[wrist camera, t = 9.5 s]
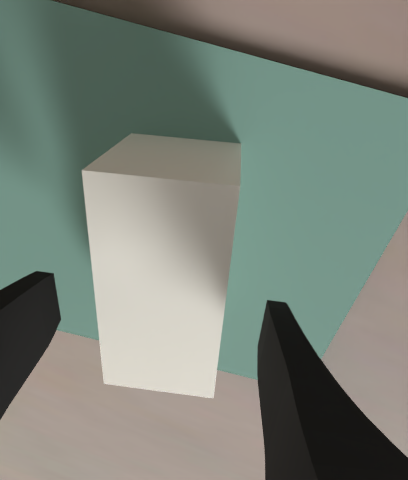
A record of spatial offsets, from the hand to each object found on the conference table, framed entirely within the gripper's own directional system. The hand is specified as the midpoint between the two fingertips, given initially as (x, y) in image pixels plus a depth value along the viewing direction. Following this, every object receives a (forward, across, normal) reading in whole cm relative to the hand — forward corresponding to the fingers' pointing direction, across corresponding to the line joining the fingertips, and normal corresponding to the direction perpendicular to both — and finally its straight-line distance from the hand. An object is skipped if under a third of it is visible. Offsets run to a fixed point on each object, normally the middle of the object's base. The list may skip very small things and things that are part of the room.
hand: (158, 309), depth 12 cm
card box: (+5, 0, 0) cm, 5 cm away
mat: (+6, 0, 0) cm, 6 cm away
